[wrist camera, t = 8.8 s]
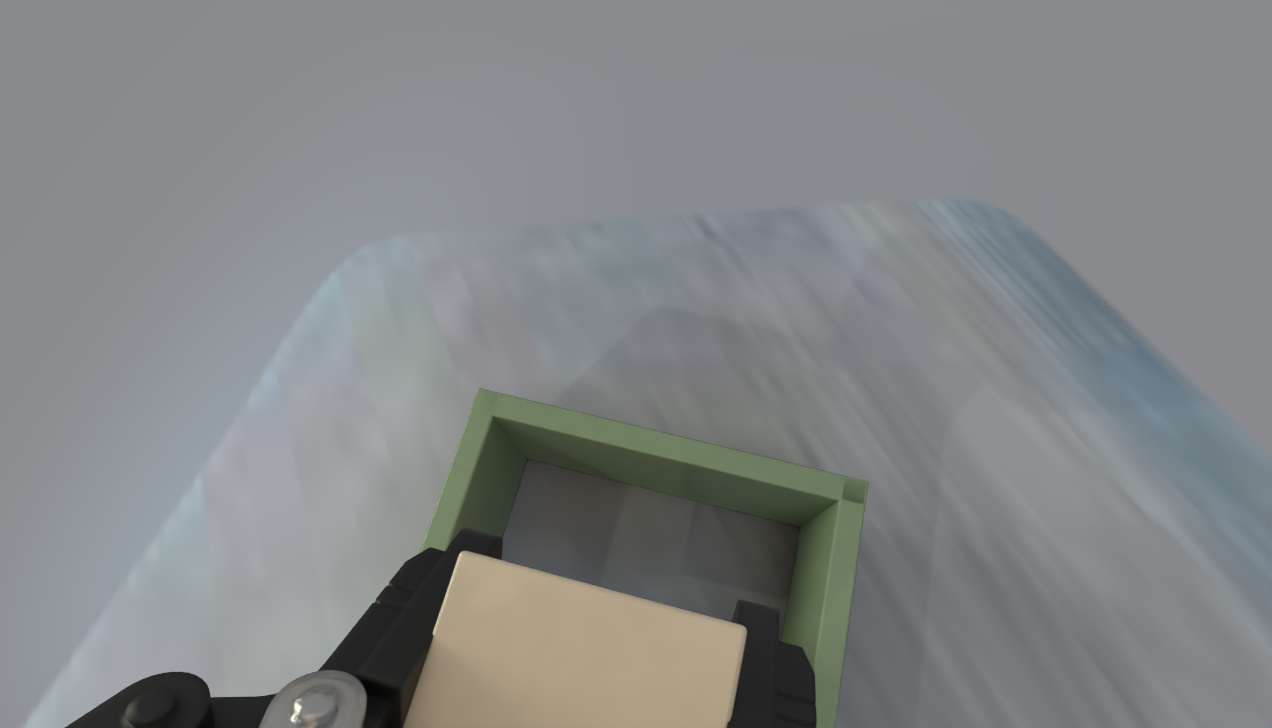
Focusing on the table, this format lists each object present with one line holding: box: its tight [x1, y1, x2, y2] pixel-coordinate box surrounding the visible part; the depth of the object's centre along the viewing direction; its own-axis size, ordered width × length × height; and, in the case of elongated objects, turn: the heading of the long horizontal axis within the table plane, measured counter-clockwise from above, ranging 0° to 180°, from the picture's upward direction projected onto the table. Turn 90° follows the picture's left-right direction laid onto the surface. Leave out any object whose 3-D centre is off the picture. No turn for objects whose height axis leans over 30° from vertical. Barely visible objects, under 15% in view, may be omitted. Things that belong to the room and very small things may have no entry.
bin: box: [420, 388, 868, 728], centre depth 21 cm, size 13×15×6 cm
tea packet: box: [403, 551, 747, 728], centre depth 15 cm, size 5×4×11 cm
